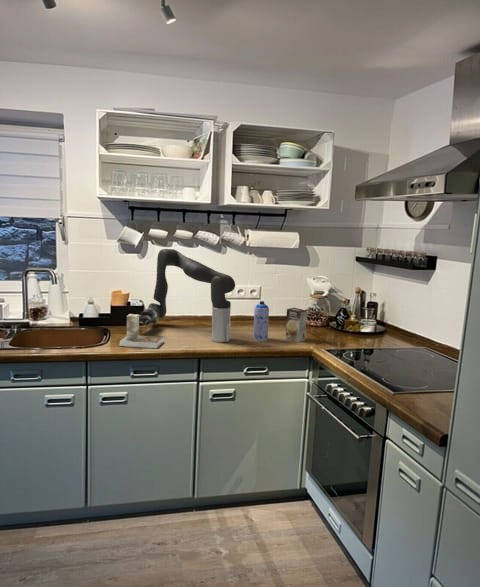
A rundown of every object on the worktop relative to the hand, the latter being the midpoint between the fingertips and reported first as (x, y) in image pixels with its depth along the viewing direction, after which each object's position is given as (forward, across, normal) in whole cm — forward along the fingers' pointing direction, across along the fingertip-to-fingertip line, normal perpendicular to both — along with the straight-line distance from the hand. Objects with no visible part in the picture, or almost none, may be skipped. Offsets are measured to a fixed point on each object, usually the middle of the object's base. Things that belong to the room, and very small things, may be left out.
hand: (138, 322), depth 231 cm
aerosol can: (-15, +60, +9) cm, 63 cm away
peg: (+8, 0, +8) cm, 12 cm away
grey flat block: (+8, +4, +8) cm, 13 cm away
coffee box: (-19, +78, +9) cm, 81 cm away
